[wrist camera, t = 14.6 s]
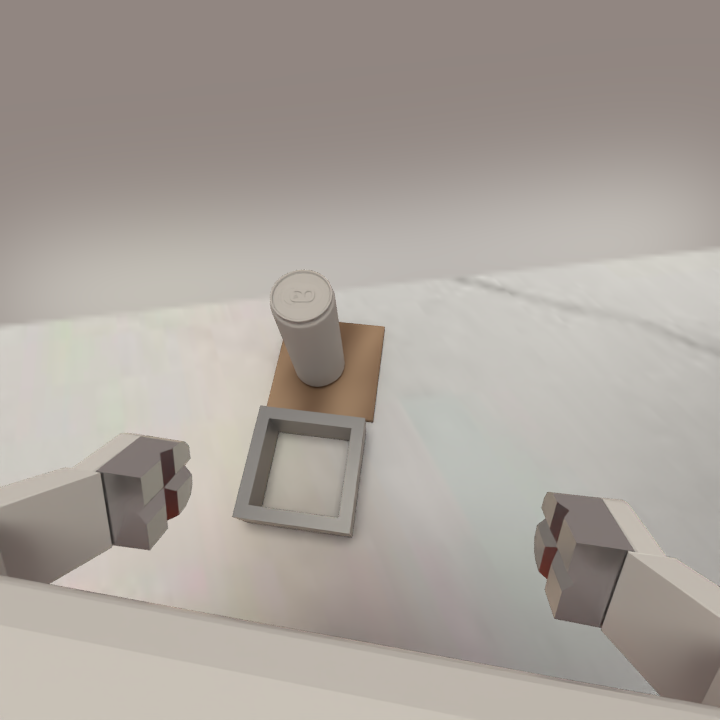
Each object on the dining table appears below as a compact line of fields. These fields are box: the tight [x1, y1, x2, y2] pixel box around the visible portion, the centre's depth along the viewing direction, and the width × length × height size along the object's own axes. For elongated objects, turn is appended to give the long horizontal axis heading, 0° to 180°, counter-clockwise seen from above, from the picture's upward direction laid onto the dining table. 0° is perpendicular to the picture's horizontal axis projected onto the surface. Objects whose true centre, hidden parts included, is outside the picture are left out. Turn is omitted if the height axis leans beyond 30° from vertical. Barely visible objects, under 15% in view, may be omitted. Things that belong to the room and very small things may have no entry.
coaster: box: [267, 322, 385, 422], centre depth 41 cm, size 10×10×1 cm
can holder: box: [232, 406, 366, 537], centre depth 35 cm, size 9×9×4 cm
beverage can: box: [270, 270, 345, 387], centre depth 36 cm, size 5×5×12 cm
